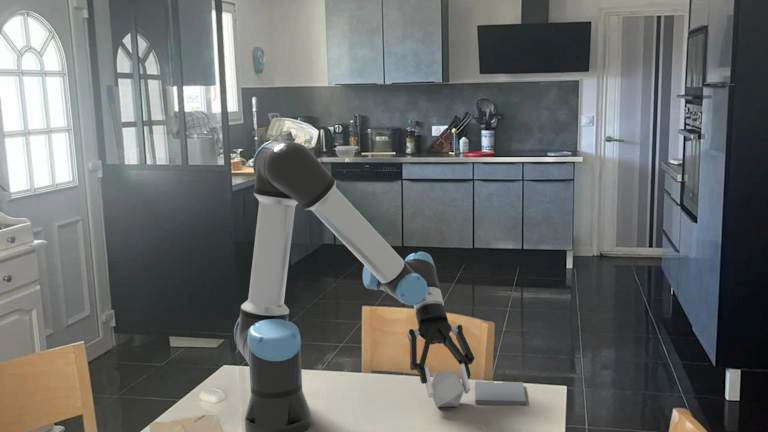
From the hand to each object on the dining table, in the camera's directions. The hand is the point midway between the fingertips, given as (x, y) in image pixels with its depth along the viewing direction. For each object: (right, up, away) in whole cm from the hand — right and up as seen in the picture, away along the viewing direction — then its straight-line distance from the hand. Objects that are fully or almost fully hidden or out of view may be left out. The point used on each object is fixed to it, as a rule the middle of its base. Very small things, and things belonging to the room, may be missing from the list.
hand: (449, 393), depth 184 cm
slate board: (+13, -2, +9) cm, 16 cm away
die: (0, -4, +4) cm, 5 cm away
